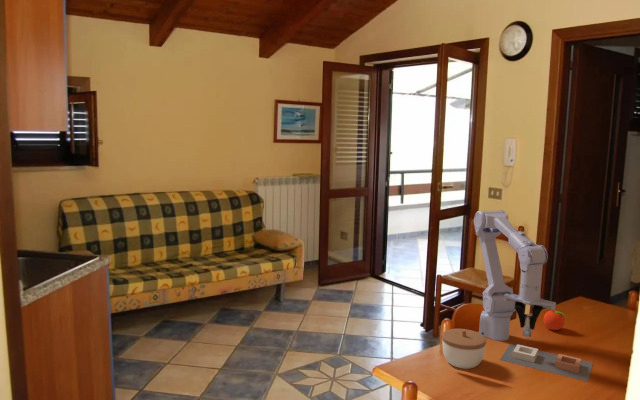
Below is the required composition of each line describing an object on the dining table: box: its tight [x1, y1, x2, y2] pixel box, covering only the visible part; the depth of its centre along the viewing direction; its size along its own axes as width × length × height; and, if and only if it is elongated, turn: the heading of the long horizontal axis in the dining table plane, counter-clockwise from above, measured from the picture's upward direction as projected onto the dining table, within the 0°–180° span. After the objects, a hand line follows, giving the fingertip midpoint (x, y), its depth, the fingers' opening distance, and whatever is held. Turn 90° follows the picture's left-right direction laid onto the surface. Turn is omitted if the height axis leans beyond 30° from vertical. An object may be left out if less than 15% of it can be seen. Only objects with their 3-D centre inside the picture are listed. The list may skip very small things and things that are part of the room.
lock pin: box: [522, 313, 532, 338], centre depth 156 cm, size 2×2×6 cm
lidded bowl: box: [441, 328, 487, 372], centre depth 153 cm, size 13×13×11 cm
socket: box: [555, 353, 582, 373], centre depth 151 cm, size 6×6×2 cm
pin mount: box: [513, 343, 539, 363], centre depth 158 cm, size 6×6×2 cm
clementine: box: [542, 309, 567, 331], centre depth 181 cm, size 8×7×7 cm
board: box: [499, 343, 594, 382], centre depth 155 cm, size 24×14×1 cm, turn 57°
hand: (527, 327), depth 157 cm, fingers closed on lock pin, 2 cm apart
